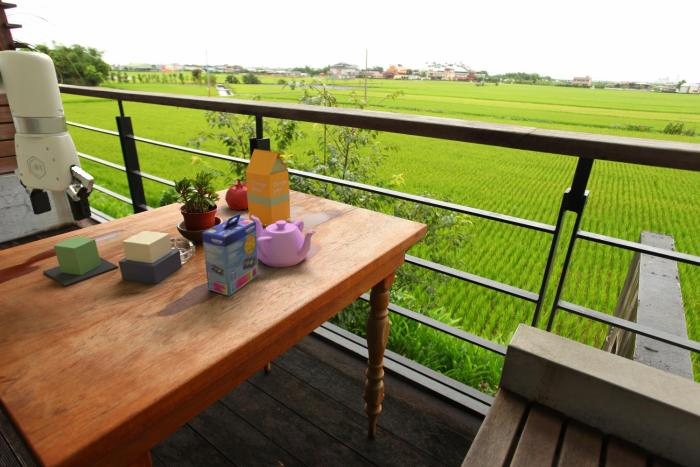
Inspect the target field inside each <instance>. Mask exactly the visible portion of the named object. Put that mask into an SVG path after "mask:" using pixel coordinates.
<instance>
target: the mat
mask: <svg viewBox="0 0 700 467" xmlns="http://www.w3.org/2000/svg"><path fill="white" fill-rule="evenodd" d="M99 257H100V261H101V265H100V266H98V267H96V268H94V269H92V270H90V271H88V272H87V273H85V274H83V275H76V274H70V273H63V272H61V269H60V266H59V265H58V266H55V267H51V268H48V269H45V270H43V271H42V273H43V274H44V275H46V276H48V277H49V278H51V279H52V280H54V281H55V282H57V283H59V284H60V285H62V286H63V287H66V288H67V287H69V286H72V285H75V284H78V283H81V282H83V281H86V280H88V279H92V278H94V277H97V276H99V275H102V274H105V273H108V272H111V271H113V270H116V269H119V265H117V264H114V263H112V262H111V261H109V260H107V259H105V258H103V257H101V256H99Z"/></svg>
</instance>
